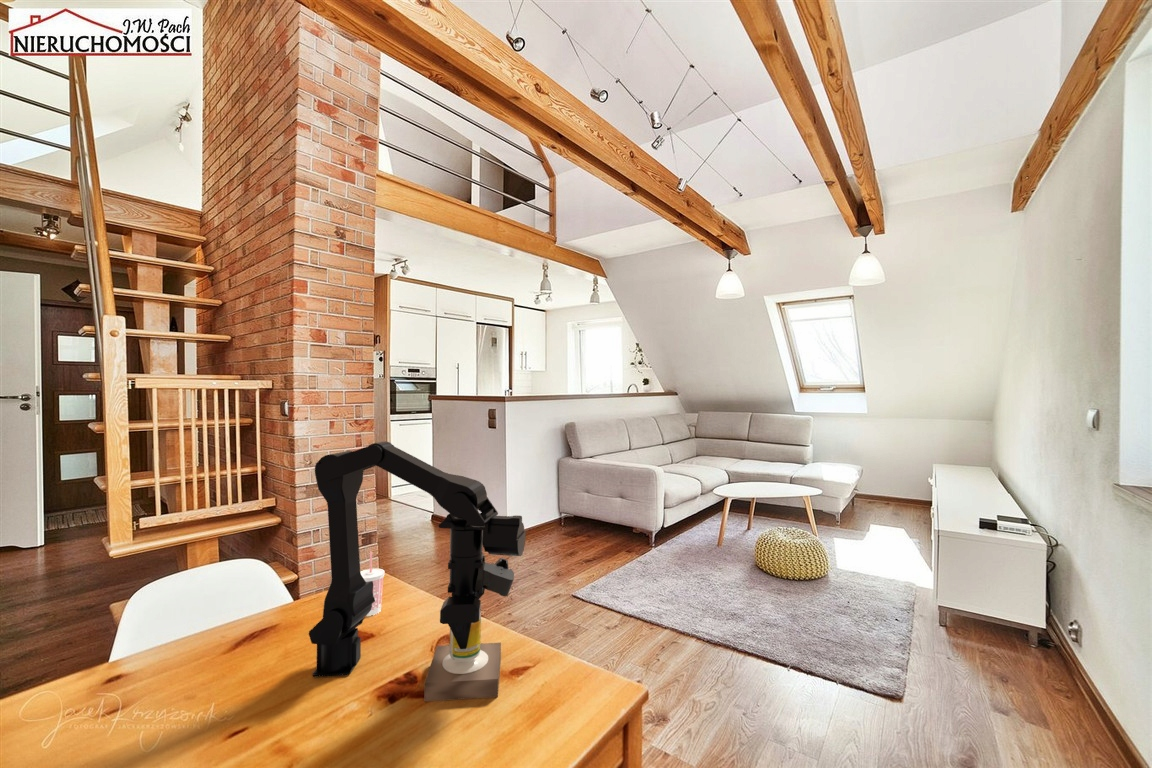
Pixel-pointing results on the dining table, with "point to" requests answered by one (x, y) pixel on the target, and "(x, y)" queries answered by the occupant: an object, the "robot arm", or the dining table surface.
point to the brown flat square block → (463, 675)
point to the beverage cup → (374, 585)
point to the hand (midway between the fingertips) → (465, 640)
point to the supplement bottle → (472, 644)
